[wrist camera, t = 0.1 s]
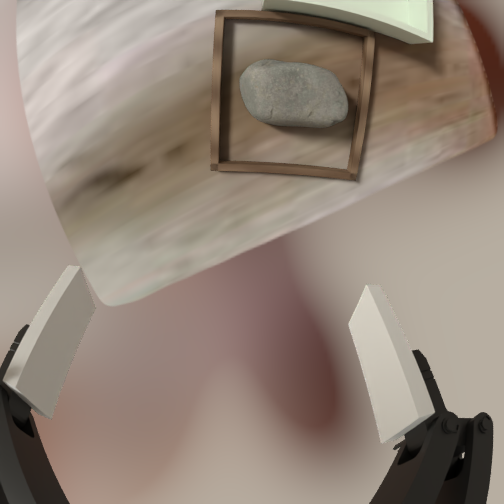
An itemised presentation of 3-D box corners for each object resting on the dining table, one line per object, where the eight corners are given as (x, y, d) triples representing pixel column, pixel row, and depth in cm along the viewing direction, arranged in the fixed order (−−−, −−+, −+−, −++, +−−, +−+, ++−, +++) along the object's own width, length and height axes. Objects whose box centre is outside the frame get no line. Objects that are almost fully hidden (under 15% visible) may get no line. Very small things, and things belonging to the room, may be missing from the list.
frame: (217, 12, 24) (215, 10, 22) (370, 33, 24) (375, 31, 23) (212, 167, 36) (210, 170, 35) (352, 176, 37) (355, 180, 36)
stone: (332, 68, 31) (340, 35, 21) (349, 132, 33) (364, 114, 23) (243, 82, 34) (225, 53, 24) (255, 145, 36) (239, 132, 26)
